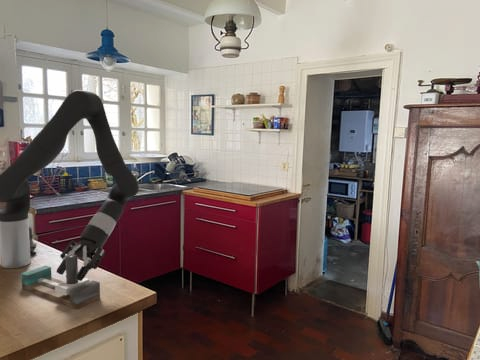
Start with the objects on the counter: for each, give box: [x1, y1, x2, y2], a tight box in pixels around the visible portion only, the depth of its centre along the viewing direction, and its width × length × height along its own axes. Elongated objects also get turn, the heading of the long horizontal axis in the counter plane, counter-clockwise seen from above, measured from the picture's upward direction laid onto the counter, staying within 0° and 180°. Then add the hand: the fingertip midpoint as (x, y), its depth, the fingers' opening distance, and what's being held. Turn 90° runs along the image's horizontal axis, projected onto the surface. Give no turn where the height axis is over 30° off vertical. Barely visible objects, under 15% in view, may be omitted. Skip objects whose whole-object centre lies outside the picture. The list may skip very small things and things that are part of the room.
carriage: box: [55, 254, 90, 295], centre depth 108 cm, size 5×8×10 cm, turn 152°
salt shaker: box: [29, 226, 37, 257], centre depth 145 cm, size 6×6×12 cm
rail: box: [20, 265, 101, 310], centre depth 112 cm, size 26×8×5 cm, turn 62°
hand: (68, 276), depth 107 cm, fingers open, 8 cm apart
